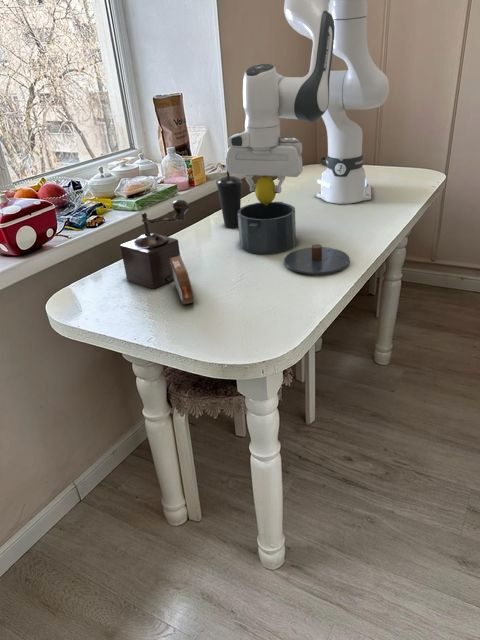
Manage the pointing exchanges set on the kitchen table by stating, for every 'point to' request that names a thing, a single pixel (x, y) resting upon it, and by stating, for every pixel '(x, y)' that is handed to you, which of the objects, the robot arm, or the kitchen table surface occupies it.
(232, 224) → the drinking cup
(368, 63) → the robot arm
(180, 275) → the tin
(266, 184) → the lemon
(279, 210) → the pot
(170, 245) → the manual coffee grinder
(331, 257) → the lid
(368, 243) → the kitchen table surface
